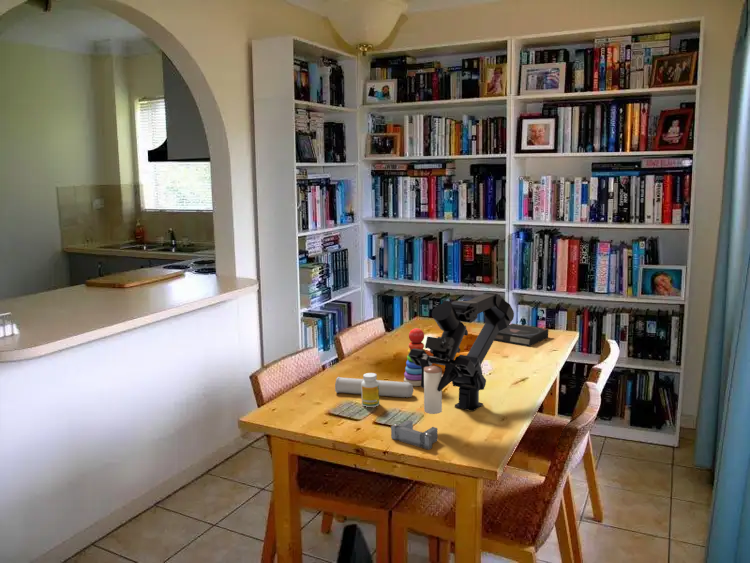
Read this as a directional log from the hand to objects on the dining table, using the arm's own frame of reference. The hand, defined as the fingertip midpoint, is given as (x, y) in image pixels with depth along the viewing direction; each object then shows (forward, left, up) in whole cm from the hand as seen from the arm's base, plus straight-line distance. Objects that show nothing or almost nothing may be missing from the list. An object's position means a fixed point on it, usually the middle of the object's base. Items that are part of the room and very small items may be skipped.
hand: (430, 388), depth 177 cm
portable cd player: (-99, -22, -13) cm, 102 cm away
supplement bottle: (-6, -26, -12) cm, 29 cm away
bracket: (+7, 0, -12) cm, 14 cm away
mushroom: (-1, 0, -7) cm, 7 cm away
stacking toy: (-30, -26, -12) cm, 41 cm away
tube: (-14, -31, -13) cm, 36 cm away
